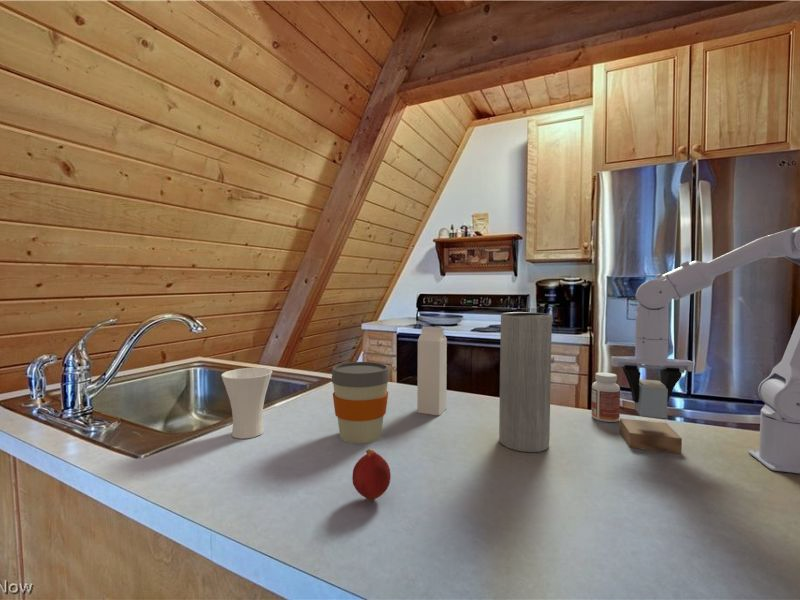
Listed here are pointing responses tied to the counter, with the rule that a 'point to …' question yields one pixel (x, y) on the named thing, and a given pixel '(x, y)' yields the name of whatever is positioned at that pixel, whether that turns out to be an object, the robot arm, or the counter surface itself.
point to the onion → (371, 475)
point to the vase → (525, 381)
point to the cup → (247, 399)
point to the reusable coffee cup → (360, 400)
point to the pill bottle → (605, 397)
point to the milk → (432, 371)
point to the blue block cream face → (652, 399)
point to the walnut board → (650, 435)
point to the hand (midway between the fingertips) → (649, 402)
